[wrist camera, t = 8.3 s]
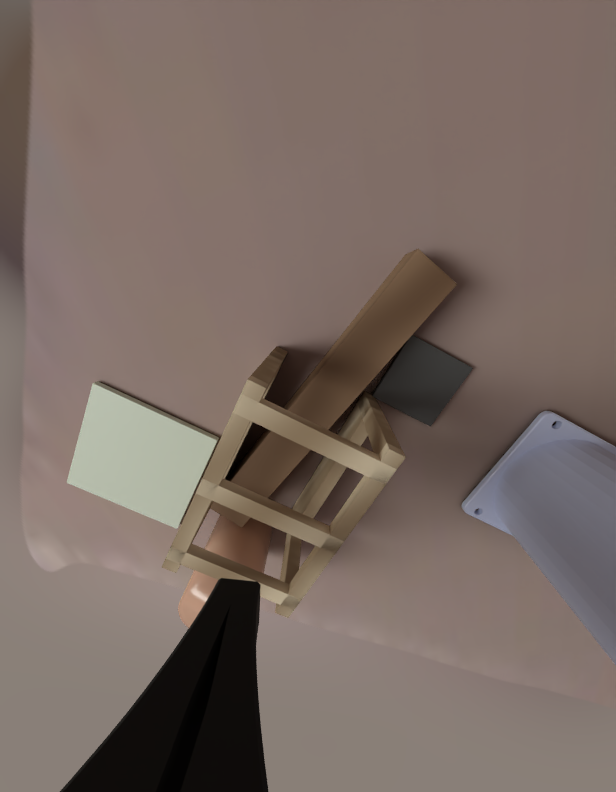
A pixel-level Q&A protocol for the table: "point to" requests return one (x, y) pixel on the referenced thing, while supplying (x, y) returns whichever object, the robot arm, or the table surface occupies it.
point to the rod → (346, 370)
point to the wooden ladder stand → (300, 518)
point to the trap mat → (421, 380)
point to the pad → (139, 455)
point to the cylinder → (232, 544)
